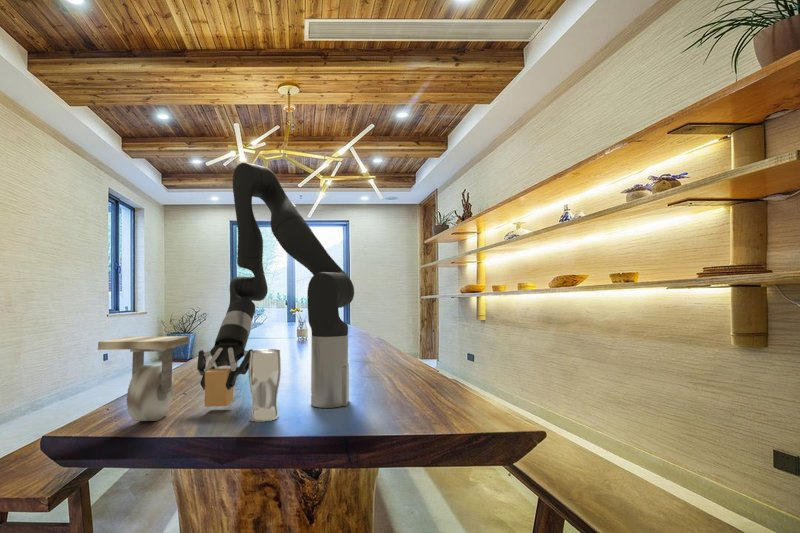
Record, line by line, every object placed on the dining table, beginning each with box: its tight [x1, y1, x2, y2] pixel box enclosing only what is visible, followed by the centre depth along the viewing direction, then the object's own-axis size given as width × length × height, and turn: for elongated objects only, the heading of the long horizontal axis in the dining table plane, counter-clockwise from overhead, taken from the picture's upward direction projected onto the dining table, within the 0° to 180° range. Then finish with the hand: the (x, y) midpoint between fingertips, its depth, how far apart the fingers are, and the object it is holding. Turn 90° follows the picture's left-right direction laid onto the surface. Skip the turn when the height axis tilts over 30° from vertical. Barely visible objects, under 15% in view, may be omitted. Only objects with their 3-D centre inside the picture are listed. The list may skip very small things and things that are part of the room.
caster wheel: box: [97, 335, 190, 422], centre depth 97 cm, size 14×14×18 cm
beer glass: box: [248, 348, 282, 423], centre depth 98 cm, size 7×7×15 cm
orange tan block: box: [204, 367, 234, 408], centre depth 105 cm, size 5×4×8 cm
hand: (216, 387), depth 103 cm, fingers closed on orange tan block, 5 cm apart
